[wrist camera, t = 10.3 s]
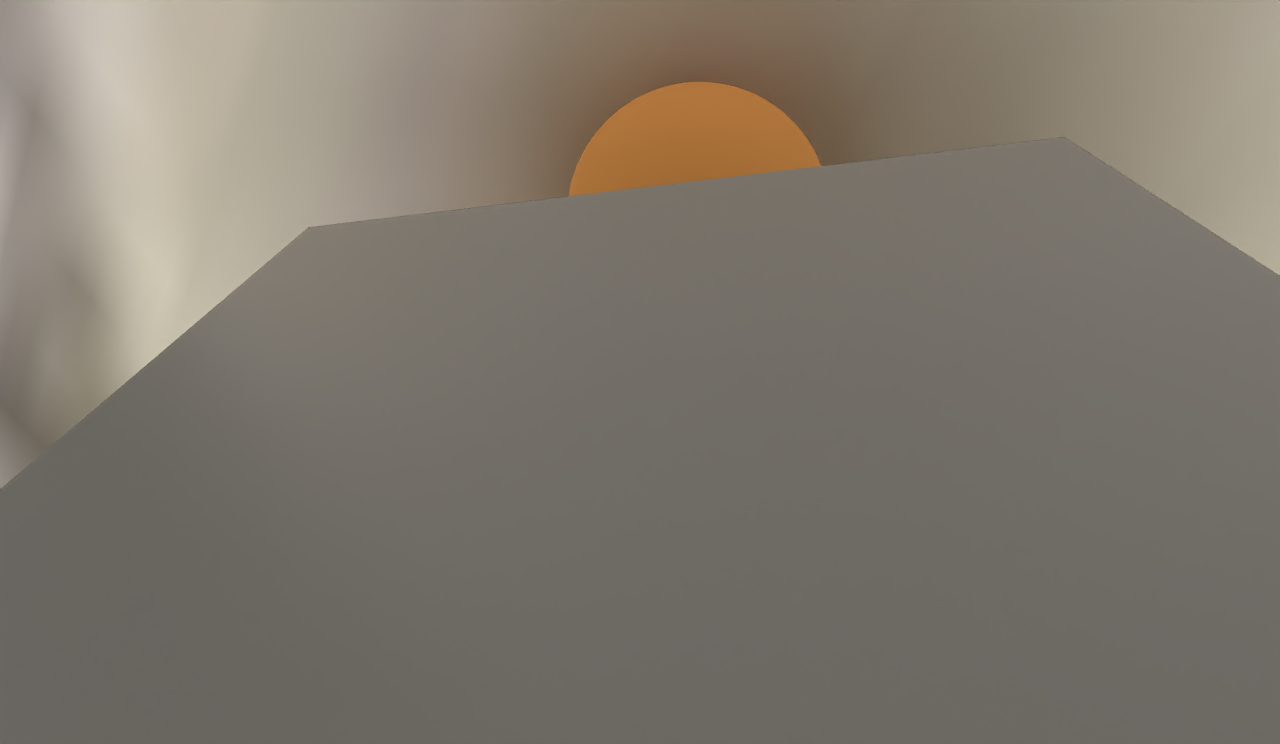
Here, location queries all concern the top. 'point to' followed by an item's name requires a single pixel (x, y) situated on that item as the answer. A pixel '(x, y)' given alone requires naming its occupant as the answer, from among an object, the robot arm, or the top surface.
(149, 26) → the top surface
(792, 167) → the ball
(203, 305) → the top surface
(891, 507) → the grey block
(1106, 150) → the top surface
